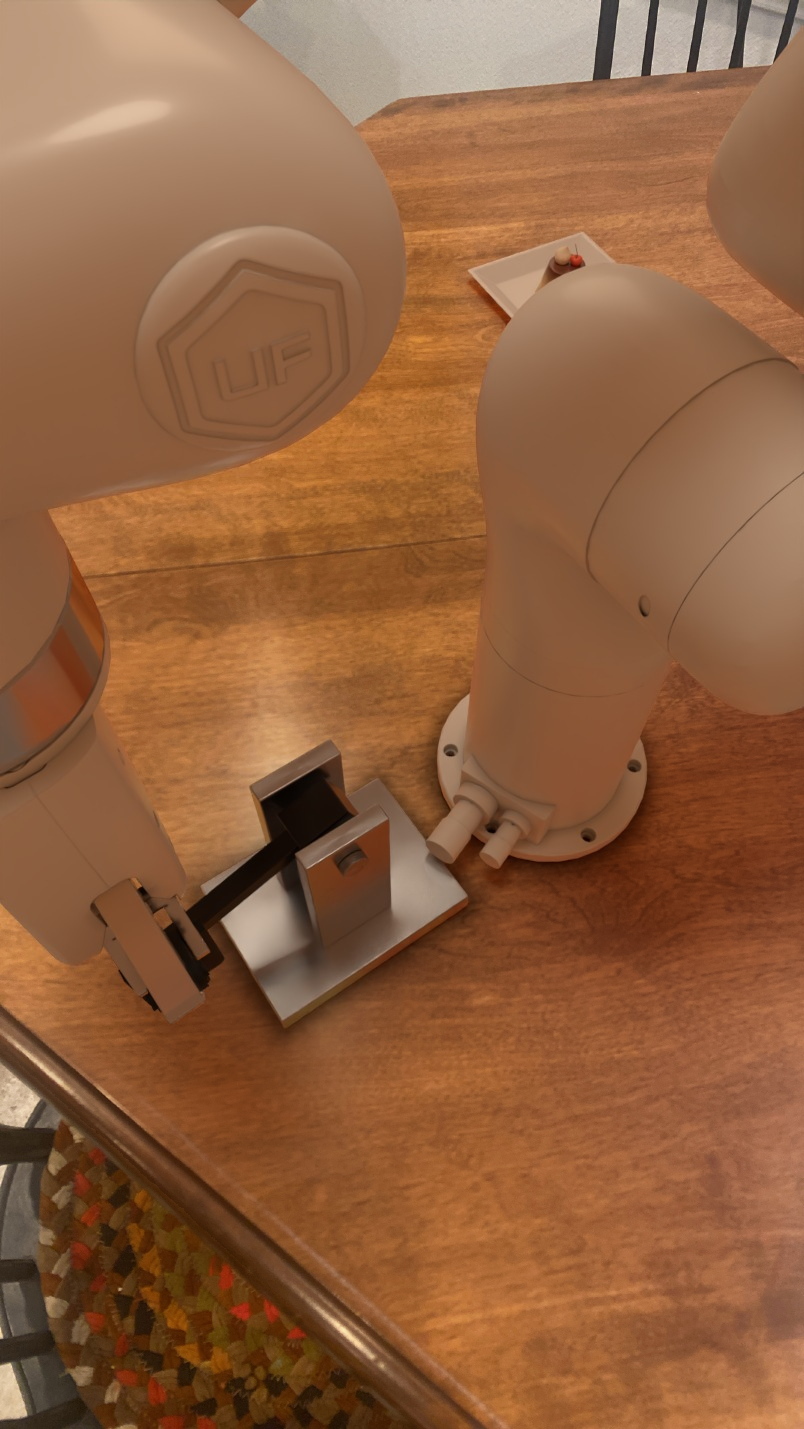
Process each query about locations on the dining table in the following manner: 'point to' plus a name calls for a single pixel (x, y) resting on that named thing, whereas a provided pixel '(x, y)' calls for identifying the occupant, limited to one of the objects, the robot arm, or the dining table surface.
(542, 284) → the dessert
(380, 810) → the bracket
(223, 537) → the dining table surface
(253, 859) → the lever
